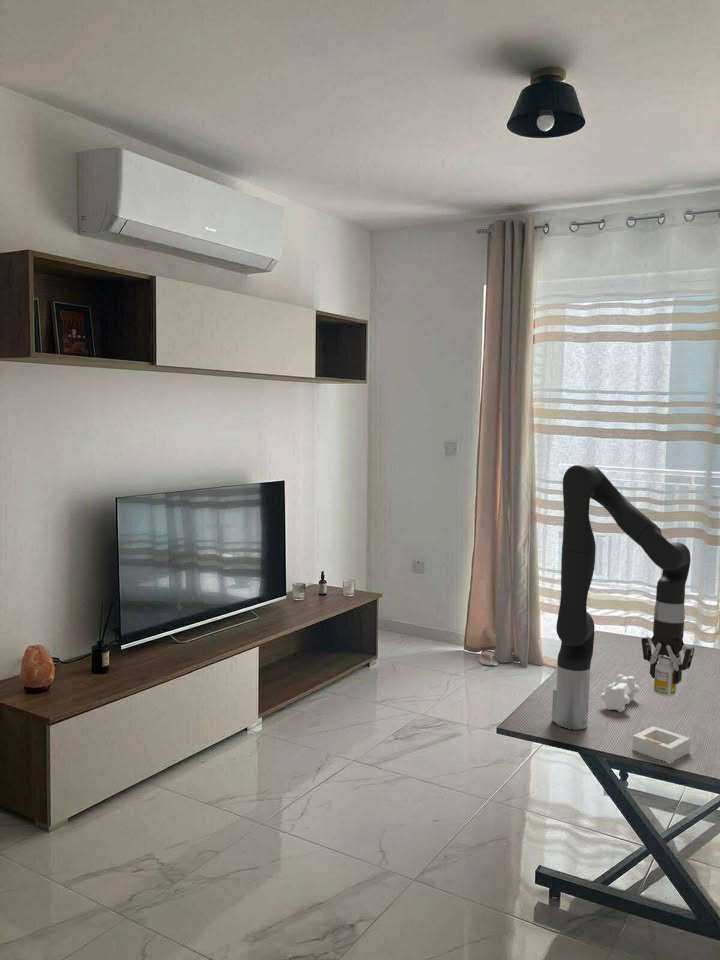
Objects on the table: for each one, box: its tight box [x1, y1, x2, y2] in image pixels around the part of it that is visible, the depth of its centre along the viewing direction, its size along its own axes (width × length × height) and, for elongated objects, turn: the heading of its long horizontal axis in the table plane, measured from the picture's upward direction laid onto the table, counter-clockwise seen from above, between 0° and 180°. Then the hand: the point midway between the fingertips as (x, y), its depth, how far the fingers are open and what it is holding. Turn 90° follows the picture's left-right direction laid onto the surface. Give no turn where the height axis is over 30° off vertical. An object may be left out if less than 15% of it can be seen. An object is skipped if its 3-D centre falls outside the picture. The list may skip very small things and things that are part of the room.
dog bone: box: [600, 673, 641, 713], centre depth 247 cm, size 15×9×8 cm, turn 147°
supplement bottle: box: [653, 655, 677, 697], centre depth 212 cm, size 5×5×10 cm
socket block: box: [631, 725, 691, 763], centre depth 213 cm, size 11×11×4 cm
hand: (665, 680), depth 212 cm, fingers closed on supplement bottle, 5 cm apart
